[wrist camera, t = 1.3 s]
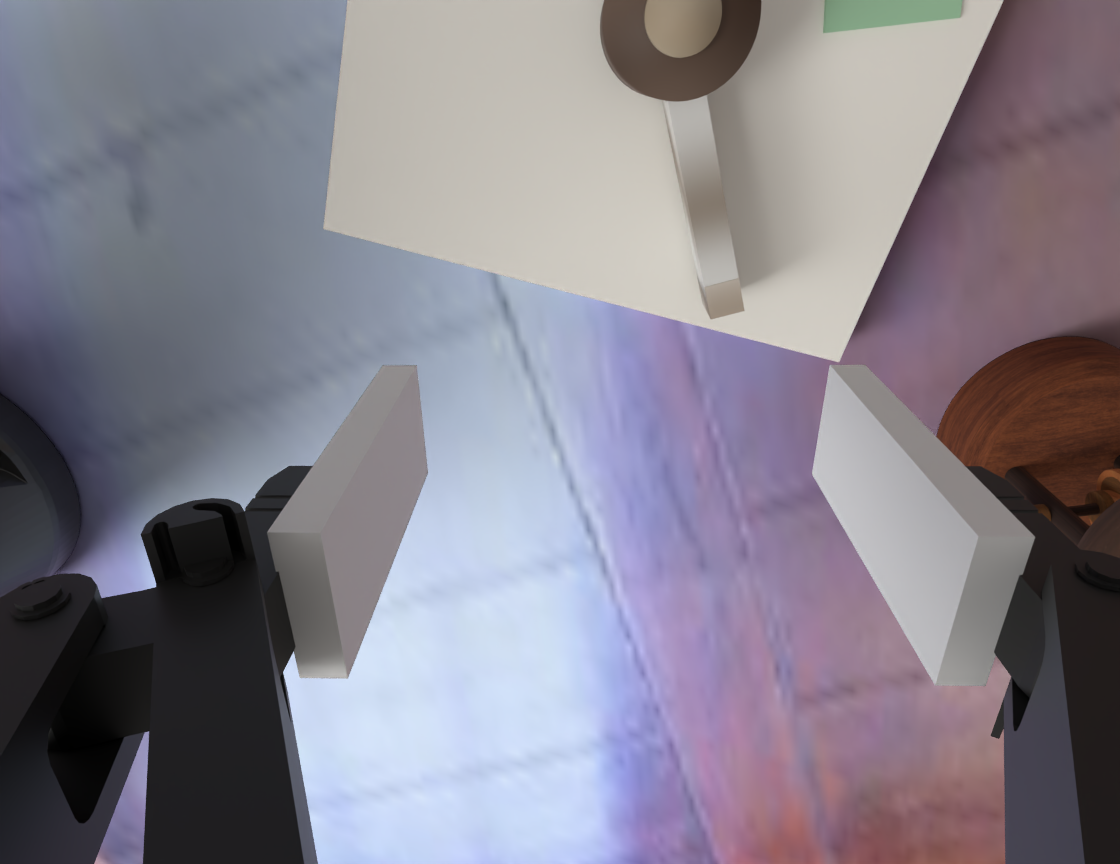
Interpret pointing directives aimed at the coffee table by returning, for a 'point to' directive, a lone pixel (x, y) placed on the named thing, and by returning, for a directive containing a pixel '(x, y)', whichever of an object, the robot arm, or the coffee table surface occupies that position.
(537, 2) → the board
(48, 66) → the coffee table surface
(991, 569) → the robot arm
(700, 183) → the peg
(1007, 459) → the music box
